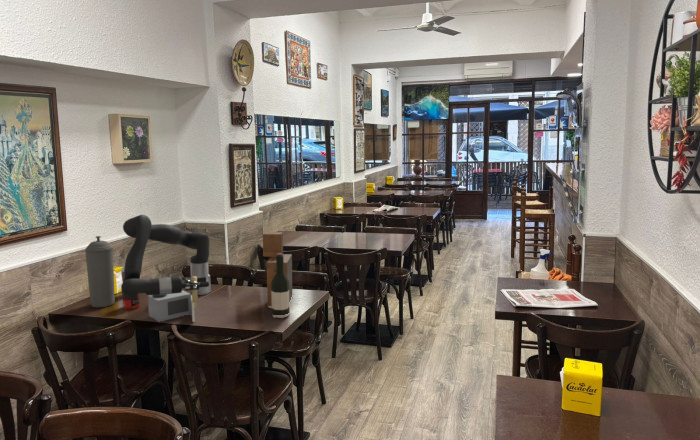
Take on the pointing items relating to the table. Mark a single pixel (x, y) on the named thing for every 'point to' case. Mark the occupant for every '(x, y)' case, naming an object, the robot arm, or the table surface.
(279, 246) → the stacked wooden blocks
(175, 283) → the robot arm
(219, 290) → the table surface
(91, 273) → the canister
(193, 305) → the side door
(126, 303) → the canned food
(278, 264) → the wine bottle
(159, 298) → the camera body
